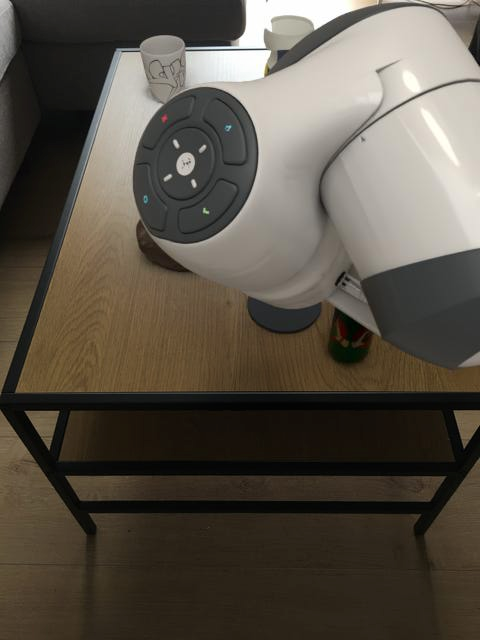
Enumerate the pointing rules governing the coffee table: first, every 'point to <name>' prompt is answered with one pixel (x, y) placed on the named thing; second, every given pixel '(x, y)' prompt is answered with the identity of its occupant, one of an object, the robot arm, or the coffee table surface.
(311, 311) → the coaster
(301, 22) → the water bottle
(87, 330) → the coffee table surface
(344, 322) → the soda can
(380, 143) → the robot arm
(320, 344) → the coffee table surface
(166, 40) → the mug
